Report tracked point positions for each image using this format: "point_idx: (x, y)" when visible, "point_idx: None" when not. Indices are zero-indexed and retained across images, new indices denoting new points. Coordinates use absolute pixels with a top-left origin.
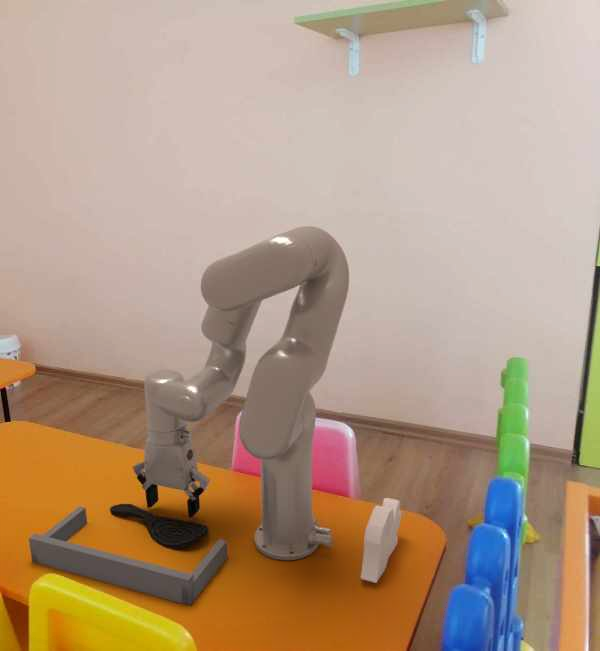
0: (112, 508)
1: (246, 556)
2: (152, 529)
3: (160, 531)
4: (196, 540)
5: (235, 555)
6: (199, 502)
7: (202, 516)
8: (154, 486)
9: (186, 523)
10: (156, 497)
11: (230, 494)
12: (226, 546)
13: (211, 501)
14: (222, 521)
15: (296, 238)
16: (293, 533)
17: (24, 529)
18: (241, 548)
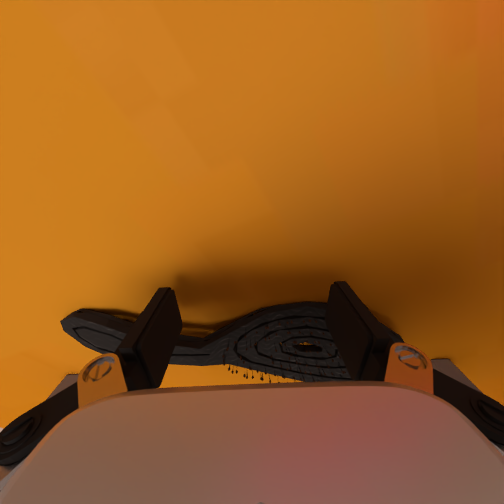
0: (76, 336)
1: (493, 345)
2: (247, 362)
3: (267, 354)
4: None
5: (466, 349)
6: (376, 320)
7: (342, 261)
8: (141, 360)
9: (316, 315)
10: (167, 309)
11: (421, 58)
12: (477, 390)
13: (342, 165)
14: (415, 261)
15: None
16: None
17: (7, 414)
18: (481, 330)
